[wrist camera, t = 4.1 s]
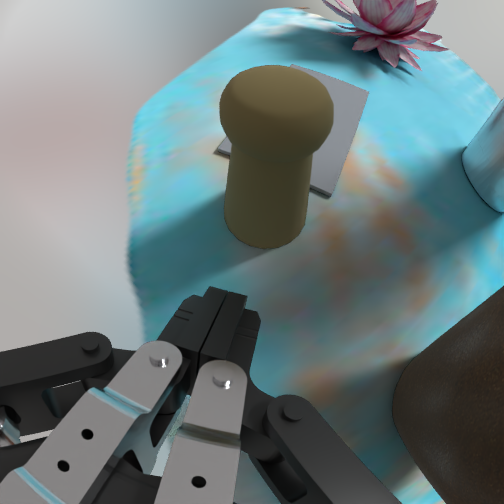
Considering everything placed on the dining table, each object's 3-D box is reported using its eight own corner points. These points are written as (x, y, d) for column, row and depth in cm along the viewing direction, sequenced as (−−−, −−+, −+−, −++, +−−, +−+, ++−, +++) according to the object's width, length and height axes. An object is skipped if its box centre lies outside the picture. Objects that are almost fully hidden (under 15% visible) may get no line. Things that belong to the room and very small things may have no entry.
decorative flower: (291, 25, 34) (299, -44, 20) (376, 30, 38) (391, -23, 24) (373, 86, 27) (406, -10, 13) (450, 87, 31) (481, 28, 17)
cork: (321, 207, 20) (372, 88, 10) (272, 266, 18) (301, 151, 8) (259, 165, 21) (266, 42, 11) (206, 214, 20) (176, 86, 9)
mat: (291, 66, 28) (291, 64, 27) (368, 94, 26) (369, 92, 26) (218, 151, 22) (217, 148, 21) (330, 197, 20) (332, 194, 20)
